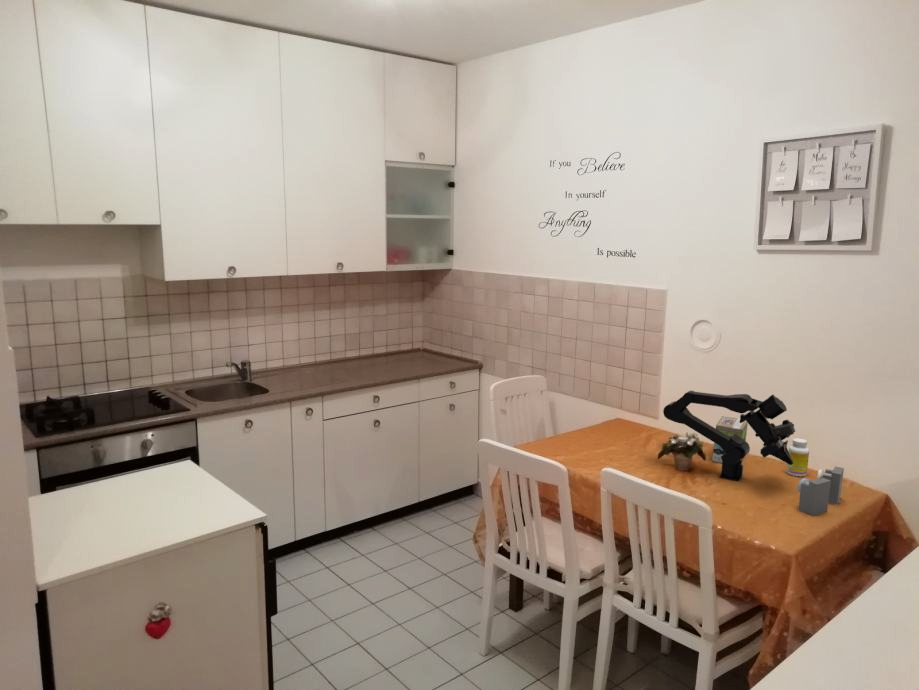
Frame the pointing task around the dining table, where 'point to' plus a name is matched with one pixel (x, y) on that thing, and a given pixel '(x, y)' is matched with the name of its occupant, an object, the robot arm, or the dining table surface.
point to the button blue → (802, 482)
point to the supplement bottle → (798, 458)
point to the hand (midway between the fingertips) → (792, 464)
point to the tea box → (728, 433)
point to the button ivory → (821, 474)
